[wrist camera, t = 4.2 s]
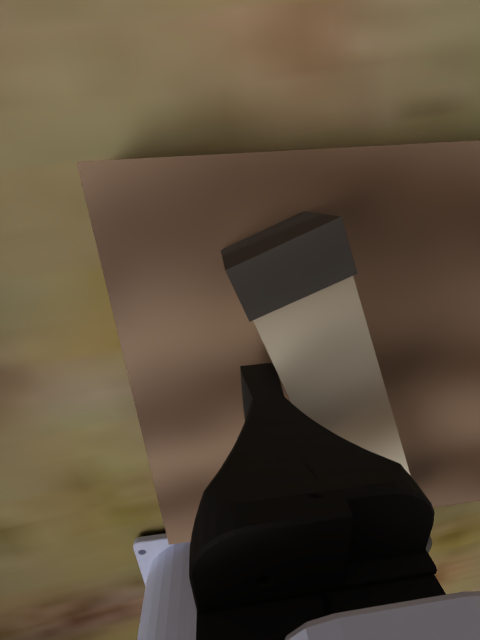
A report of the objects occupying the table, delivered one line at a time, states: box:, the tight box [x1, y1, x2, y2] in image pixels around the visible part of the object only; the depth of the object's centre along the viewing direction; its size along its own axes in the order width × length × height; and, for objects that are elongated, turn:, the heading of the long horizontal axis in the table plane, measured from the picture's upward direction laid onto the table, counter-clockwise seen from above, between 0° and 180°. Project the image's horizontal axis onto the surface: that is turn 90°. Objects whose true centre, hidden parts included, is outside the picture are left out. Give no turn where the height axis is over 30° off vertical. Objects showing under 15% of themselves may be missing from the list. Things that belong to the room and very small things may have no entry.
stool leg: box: [221, 211, 432, 552], centre depth 12 cm, size 17×3×3 cm, turn 24°
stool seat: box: [77, 140, 480, 545], centre depth 14 cm, size 19×22×5 cm
